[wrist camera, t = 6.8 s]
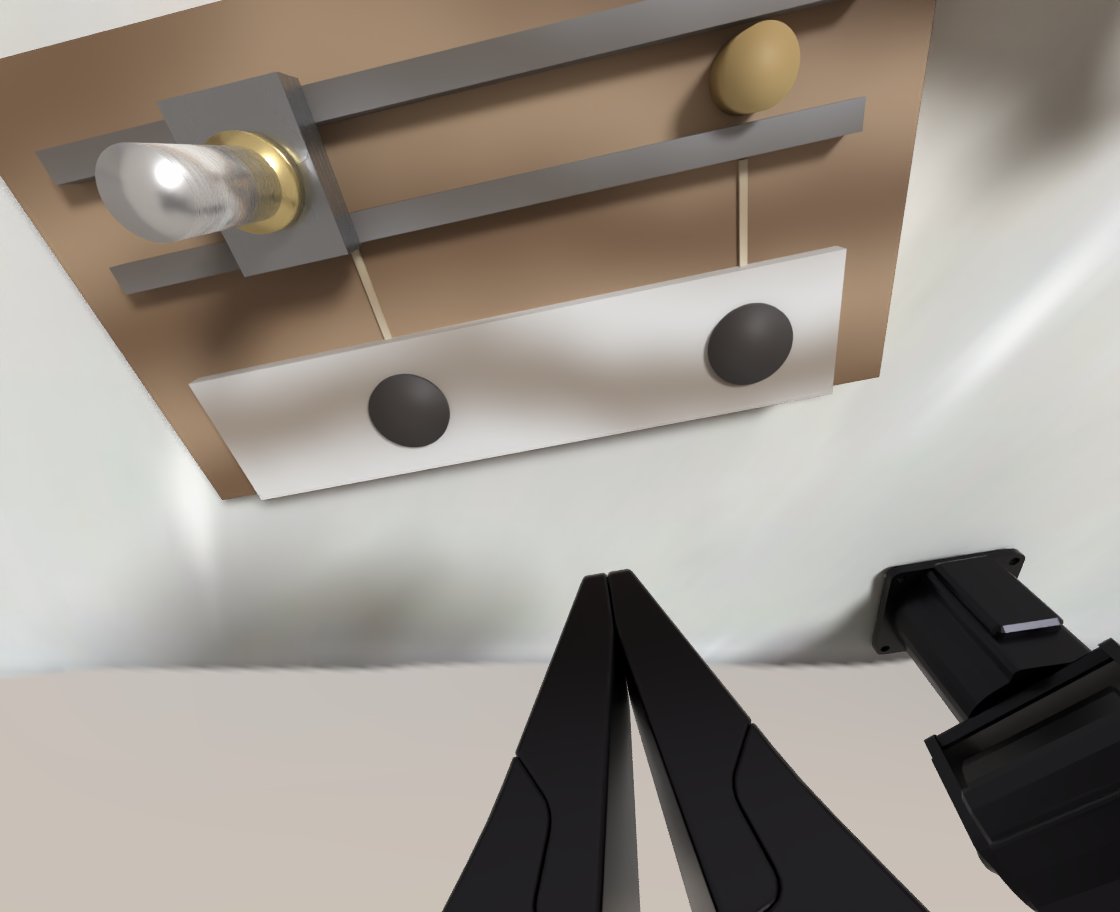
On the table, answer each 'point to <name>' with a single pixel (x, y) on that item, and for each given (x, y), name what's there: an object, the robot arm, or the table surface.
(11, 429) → the table surface
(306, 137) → the sliding handle
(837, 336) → the brown flat wooden board
